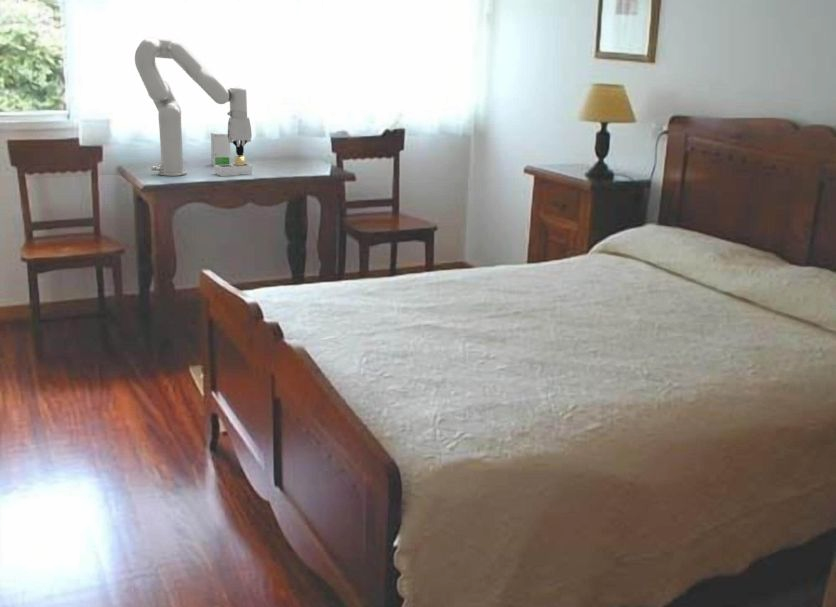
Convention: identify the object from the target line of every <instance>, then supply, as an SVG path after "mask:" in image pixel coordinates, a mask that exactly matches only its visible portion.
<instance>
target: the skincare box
mask: <svg viewBox="0 0 836 607" xmlns="http://www.w3.org/2000/svg"><path fill="white" fill-rule="evenodd" d="M210 142H211V143H210V145H211V147H210V149H211V150H210V151H211V155H210V156H211V165H212V166H213V167H214V165H225V164H231V143H229V142H228V132H210Z"/></svg>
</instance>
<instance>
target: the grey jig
mask: <svg viewBox="0 0 836 607" xmlns="http://www.w3.org/2000/svg"><path fill="white" fill-rule="evenodd" d="M252 168H253V166H252V165H251V164H248V163H245V166H235V163H230V164H225V165H214V166H213V172H214V173H215V174H214V173H213V174H214V175H216V174H217V175H216V176H219V175H220V176H219V177H231V176H230V175H235V176H240V175H239V174H249V175H253V171H252V170H253V169H252Z"/></svg>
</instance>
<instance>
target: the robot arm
mask: <svg viewBox="0 0 836 607" xmlns="http://www.w3.org/2000/svg"><path fill="white" fill-rule="evenodd" d="M156 58H160V59H169V60H170V59H171V60H173V61H174V62H175V63H176V64H177V65H178V66H179V67H180V68H181V69H182V70H183V71H184V72H185V73H186V74H187V75H188V76H189V77H190V78H191V79H192V81H193V82H195V83H196V84H197V85H198V86H199V87H200V88H201V89H202V90H203V91H204V92H205V93H206V95H208V96H209V97H210V98H211V99H212V100H213V102H215V103H216V104H218V105H225V104H227V103H229V111H228V112H227V116H229V117H228V122H227V133H228V142H229V143H230V144H233V145H234V146H235V154H236V156H244V153H245V152H244V150H245V148H244V147H245V145H247V143H251V141H252V139H253V138H252V135H253V134H252V126H251V120H250V117H249V116H248V101H247V100H248V99H247V89H246V87H245V86H239V85H238V86H225V85H223V84H222V83H221V82H220V81H219V79H217V78H216V77H215V76H214V75H213V73H212V72H211V71H210V69H209V68H208V67H207V65H206V63H205V62H203V61H202V60H201V58H199V57H198V56H197V55H196V54H195V53H194V51H193V50H192V49H191V48H190V47H189V46H188V45H187V44H186V43H185V42H184V40H181V39H170V38H160V37H146V38H144V39H143V40H141V42H140V43H139V44H138V46H137V48H136V50H135V53H134V63H135V67H136V70H137V72H138V73H139V77H140V79H141V81H142V83H143V85H144V87H145V89H146V91H147V94H148V96H149V97H150V99H152V101H153V103H154V106H155V107H156V109H157V112H158V128H159V143H160V157H161V158H160V161H161V162H160V163H158V165H156V166H155V165H152V166H150V171H156V172H157V171H158V175H159V176H166V177H167V176H169V177H177V176H179V177H180V176H185V175H187V174H188V171H187V170H186V169H184V157H183V154H184V153H183V133H182V110H181V106H180V105H179V103H178V101H177V98H176V97H175V94H174V93H173V90H172V88H171V87H170V85H169V83H168V82H167V81H166V80H164V77H163V76H162V73H161V71H160V69H159V68H158V66H157V63H156Z"/></svg>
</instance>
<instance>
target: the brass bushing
mask: <svg viewBox="0 0 836 607" xmlns="http://www.w3.org/2000/svg"><path fill="white" fill-rule="evenodd" d="M245 162H246V161H245V155H243V156H239V155H235V156H234V164H235V166H245V164H246V163H245Z"/></svg>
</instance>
